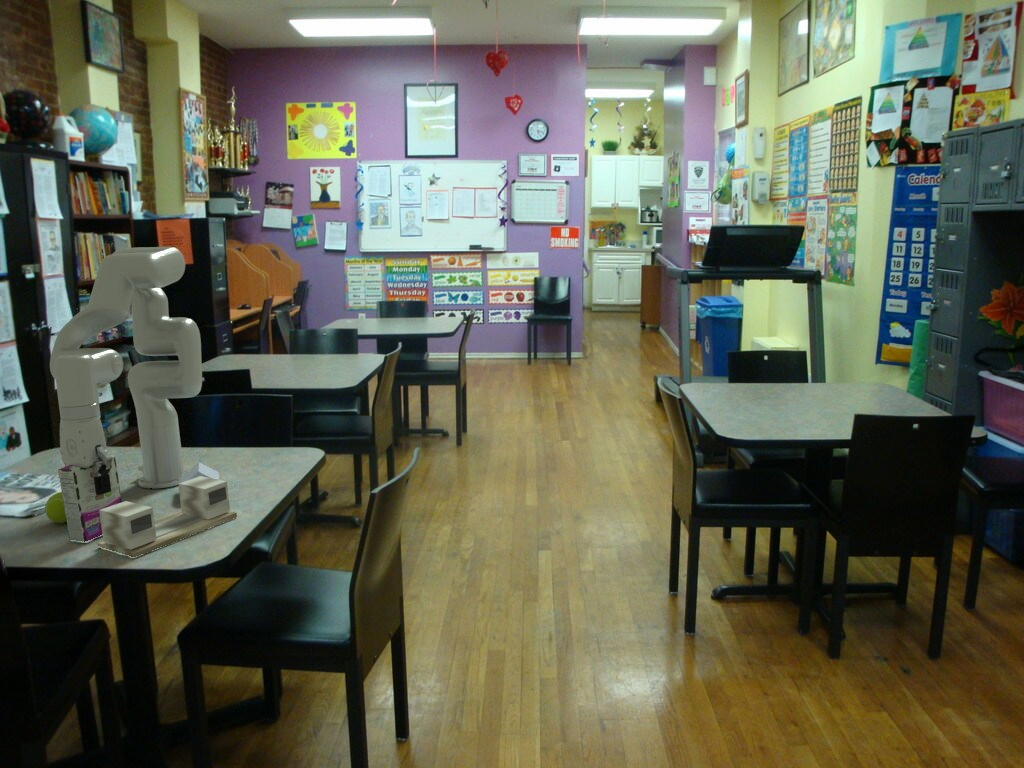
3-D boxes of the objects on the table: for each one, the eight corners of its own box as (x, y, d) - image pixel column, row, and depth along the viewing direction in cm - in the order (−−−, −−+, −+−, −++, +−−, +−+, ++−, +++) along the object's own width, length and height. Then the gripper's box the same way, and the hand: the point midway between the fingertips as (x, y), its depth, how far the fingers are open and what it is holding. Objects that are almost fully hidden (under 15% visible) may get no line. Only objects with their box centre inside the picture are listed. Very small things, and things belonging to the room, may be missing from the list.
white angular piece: (182, 490, 211) (180, 506, 199) (179, 464, 210) (177, 479, 198) (220, 485, 214) (220, 500, 202) (218, 460, 213) (218, 474, 201)
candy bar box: (108, 523, 189) (99, 453, 186) (126, 526, 187) (116, 455, 184) (67, 542, 179) (56, 468, 175) (85, 544, 177) (74, 470, 174)
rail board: (98, 548, 174) (92, 509, 173) (201, 509, 196) (198, 474, 194) (133, 559, 168) (128, 518, 167) (237, 517, 190) (233, 481, 188)
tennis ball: (56, 517, 194) (51, 488, 193) (87, 516, 195) (83, 487, 193) (41, 528, 187) (37, 498, 186) (74, 526, 188) (69, 497, 186)
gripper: (39, 412, 179) (50, 489, 182) (87, 419, 170) (97, 500, 173) (73, 405, 185) (83, 480, 188) (121, 412, 176) (130, 490, 179)
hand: (90, 490), depth 180 cm, fingers open, 9 cm apart
